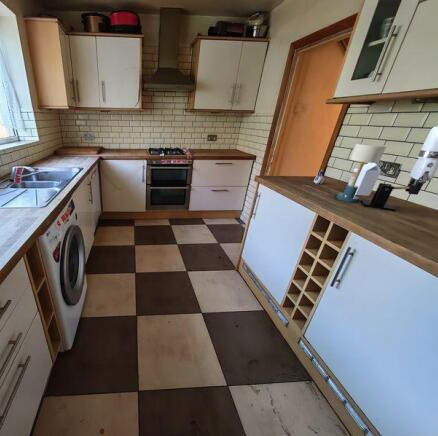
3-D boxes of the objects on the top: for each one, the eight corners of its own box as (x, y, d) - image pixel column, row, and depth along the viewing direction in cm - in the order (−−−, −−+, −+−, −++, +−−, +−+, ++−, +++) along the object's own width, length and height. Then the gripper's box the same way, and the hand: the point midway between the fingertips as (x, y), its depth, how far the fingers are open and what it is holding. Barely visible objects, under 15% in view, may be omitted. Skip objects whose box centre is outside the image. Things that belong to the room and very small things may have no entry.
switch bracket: (388, 205, 122) (400, 184, 116) (394, 211, 115) (406, 189, 110) (360, 201, 127) (369, 180, 122) (363, 206, 120) (373, 184, 115)
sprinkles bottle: (351, 188, 149) (359, 168, 143) (356, 190, 144) (366, 169, 139) (344, 188, 149) (352, 167, 143) (349, 190, 144) (358, 169, 139)
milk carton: (355, 195, 136) (369, 163, 128) (349, 191, 143) (362, 161, 135) (369, 196, 135) (384, 164, 127) (362, 192, 141) (376, 162, 133)
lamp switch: (417, 190, 112) (418, 182, 111) (420, 192, 109) (421, 184, 108) (379, 190, 119) (381, 183, 118) (381, 192, 117) (383, 185, 115)
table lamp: (358, 198, 131) (382, 144, 118) (362, 204, 122) (389, 147, 109) (332, 194, 137) (353, 142, 124) (335, 200, 128) (357, 144, 115)
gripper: (452, 158, 96) (429, 199, 104) (434, 153, 109) (415, 189, 117) (426, 156, 100) (406, 196, 108) (412, 152, 113) (395, 187, 121)
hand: (411, 192), depth 112 cm, fingers closed on lamp switch, 3 cm apart
